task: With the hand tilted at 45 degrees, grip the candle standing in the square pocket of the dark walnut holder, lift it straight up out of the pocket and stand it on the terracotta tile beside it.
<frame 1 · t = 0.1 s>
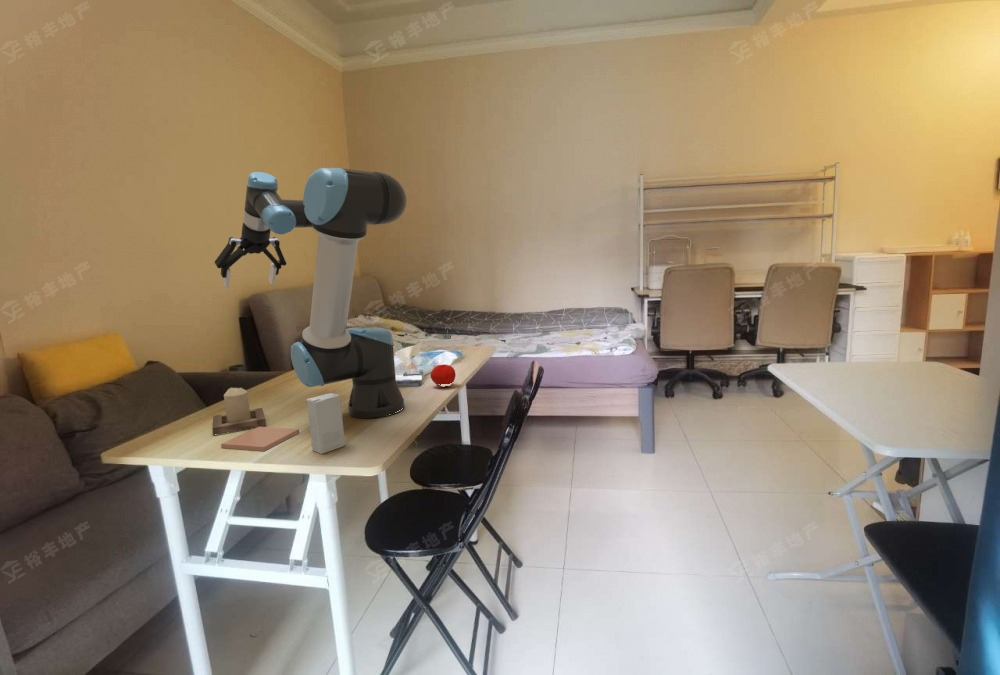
hand: (249, 283, 159), 36 cm above the table, tool tilted 35°, fingers open, 13 cm apart
walnut holder: (239, 424, 133), on the table
skincare box: (328, 449, 113), on the table
terracotta tile: (261, 440, 120), on the table
candle: (239, 425, 133), resting in walnut holder
apple: (444, 387, 163), on the table
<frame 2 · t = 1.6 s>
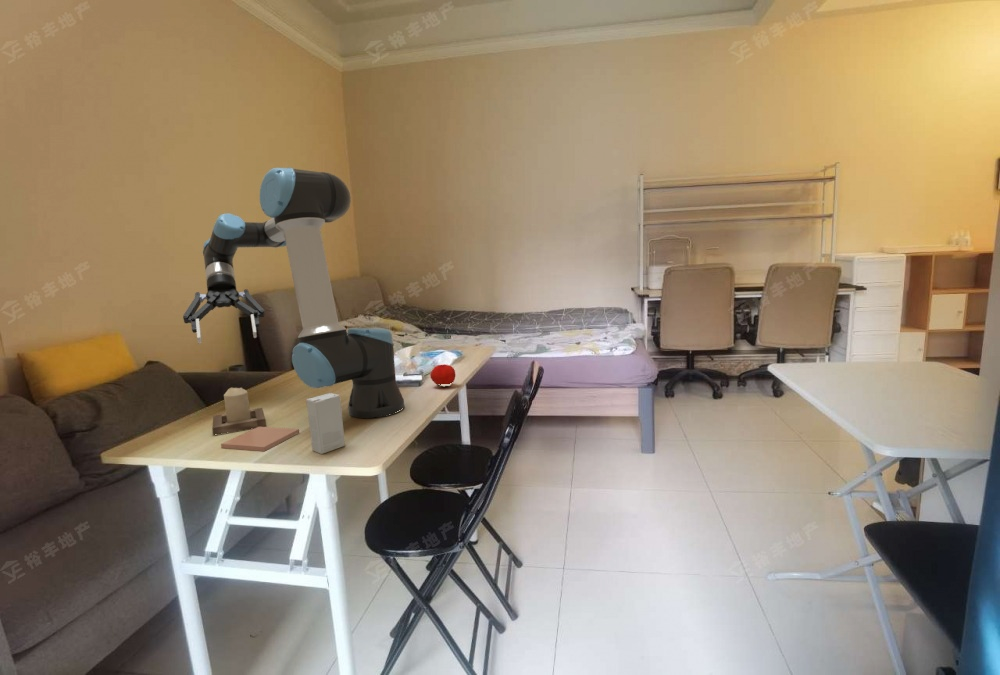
hand: (227, 337, 139), 22 cm above the table, tool tilted 45°, fingers open, 13 cm apart
nothing on the table moved.
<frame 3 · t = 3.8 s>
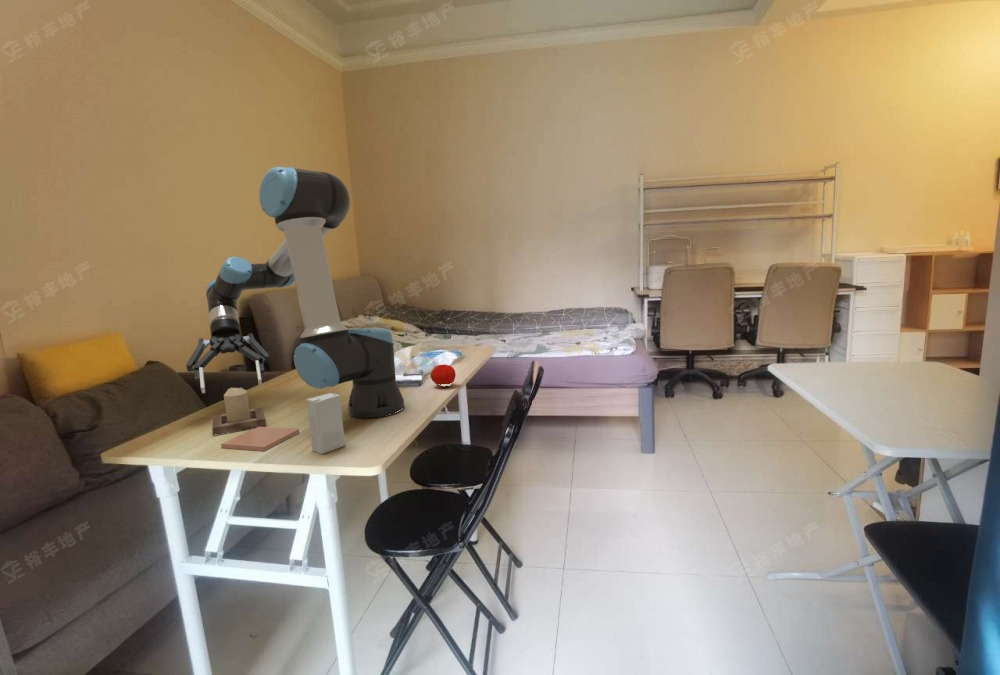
hand: (232, 386, 135), 10 cm above the table, tool tilted 45°, fingers open, 13 cm apart
nothing on the table moved.
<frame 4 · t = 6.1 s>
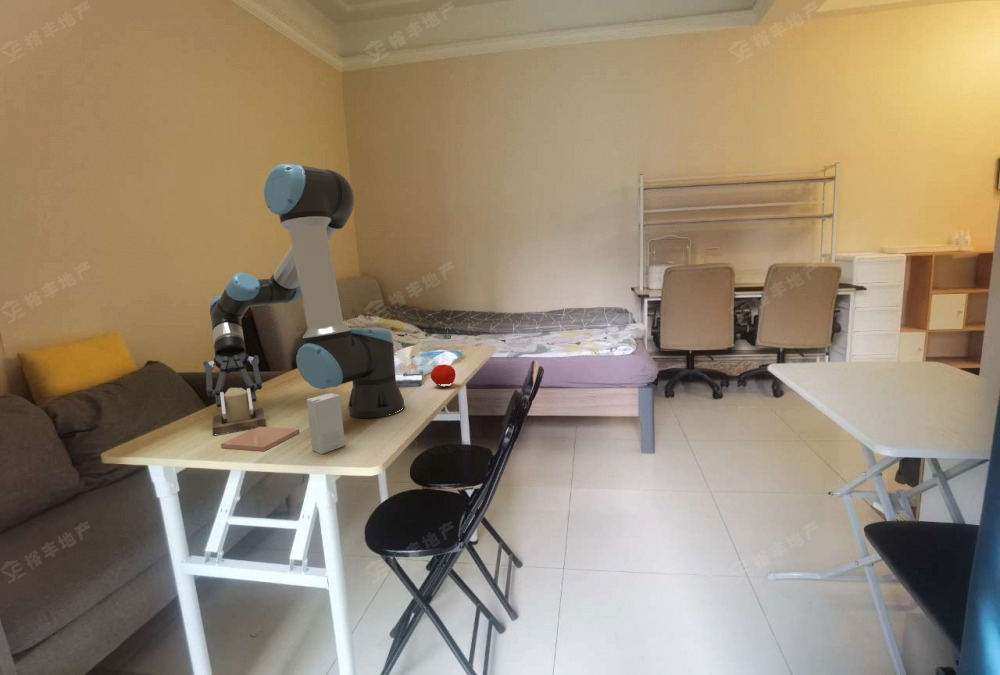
hand: (238, 414, 129), 4 cm above the table, tool tilted 45°, fingers closed on candle, 5 cm apart
candle: (239, 425, 133), resting in walnut holder, touching gripper
everything else where it was.
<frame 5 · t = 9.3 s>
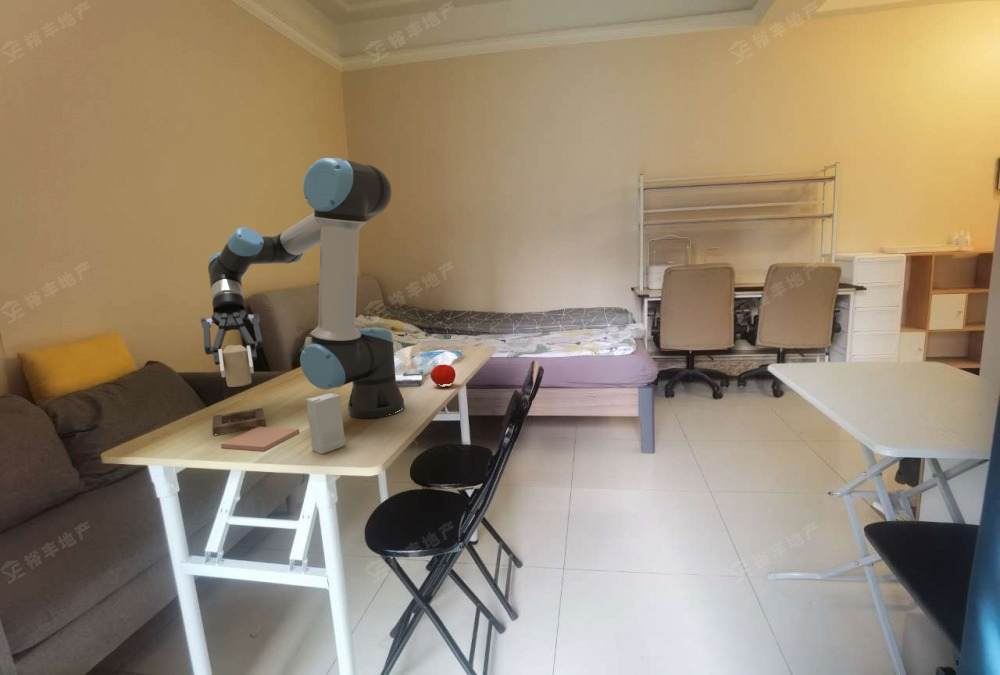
hand: (237, 371, 122), 16 cm above the table, tool tilted 45°, fingers closed on candle, 5 cm apart
candle: (239, 385, 126), point 12 cm above the table, touching gripper
everything else where it was.
when the fingers open (6 cm above the table, at t = 12.5 s): candle drops 1 cm, resting on terracotta tile.
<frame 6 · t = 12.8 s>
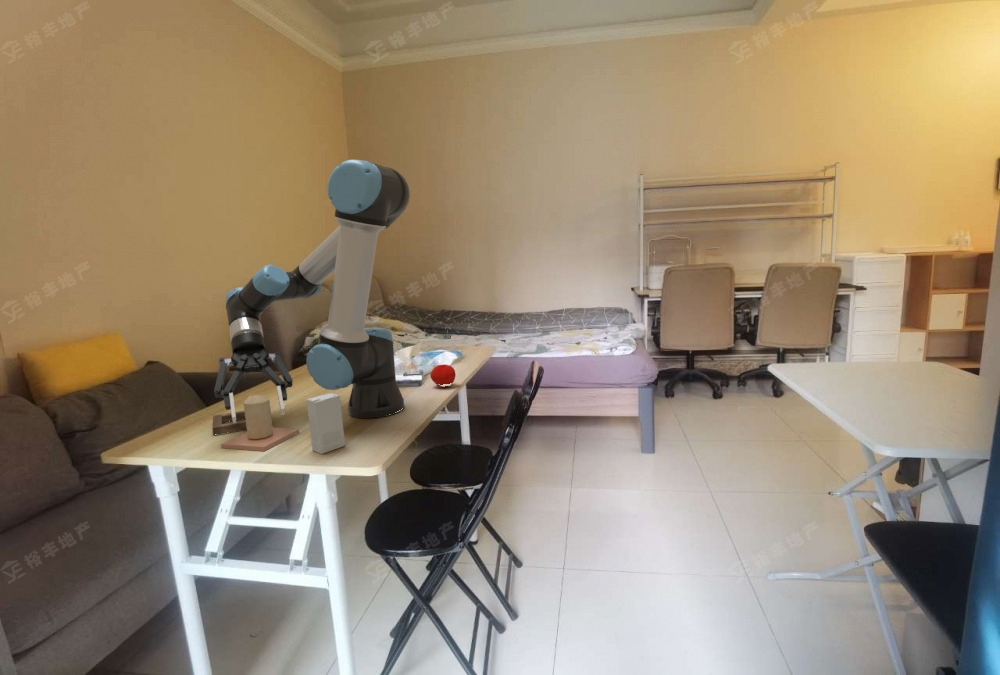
hand: (259, 415, 117), 7 cm above the table, tool tilted 45°, fingers open, 9 cm apart
candle: (260, 436, 120), point 1 cm above the table, touching terracotta tile
everything else where it was.
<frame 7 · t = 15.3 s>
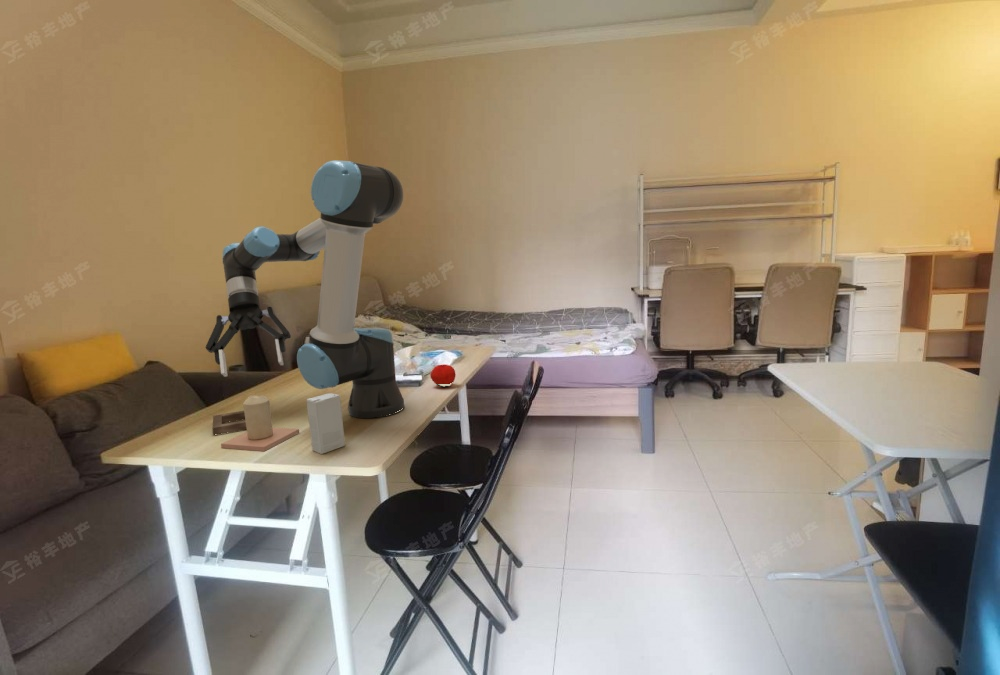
hand: (253, 369, 130), 15 cm above the table, tool tilted 30°, fingers open, 13 cm apart
nothing on the table moved.
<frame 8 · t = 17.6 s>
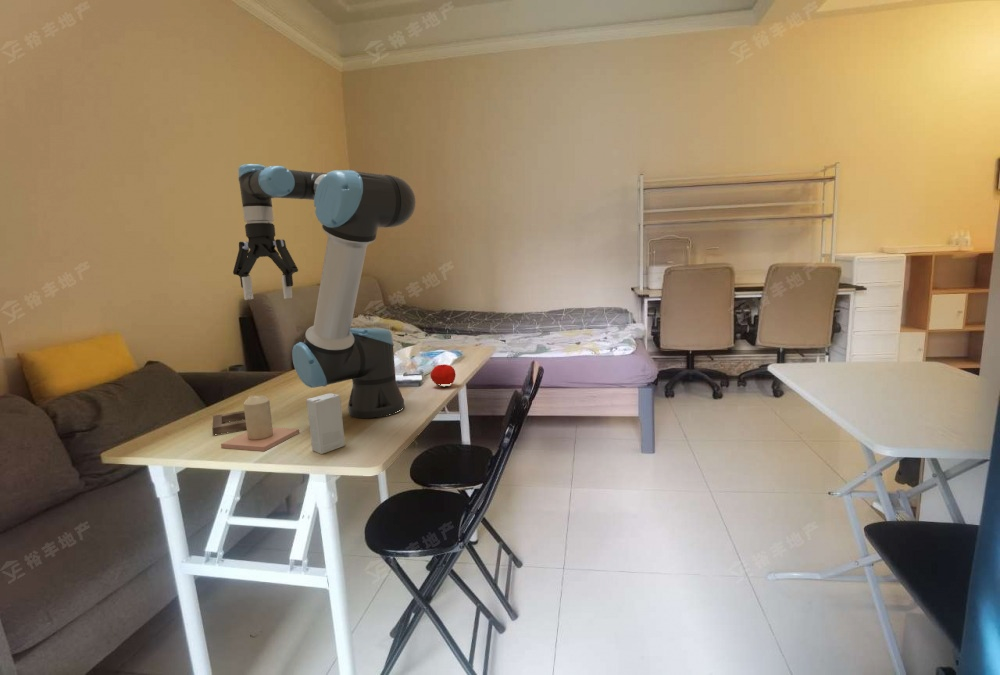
hand: (268, 298, 144), 32 cm above the table, tool pointing down, fingers open, 13 cm apart
nothing on the table moved.
at the end: candle inside the target area on the terracotta tile (0.2 cm from its centre), point 0.8 cm above the terracotta tile's base; candle tilted 0°; the gripper is holding nothing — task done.
